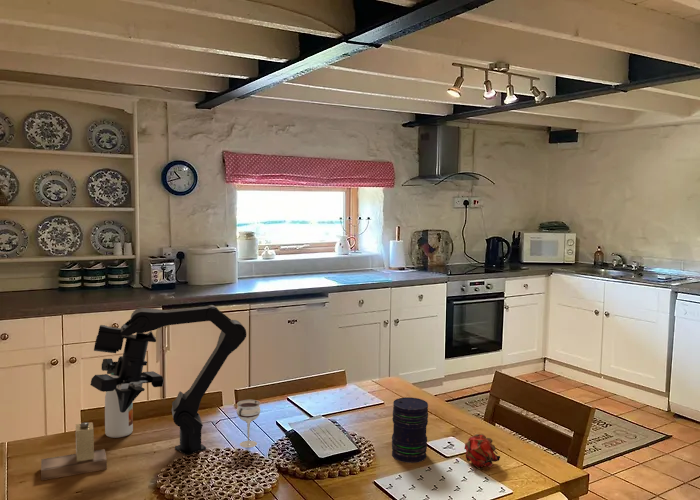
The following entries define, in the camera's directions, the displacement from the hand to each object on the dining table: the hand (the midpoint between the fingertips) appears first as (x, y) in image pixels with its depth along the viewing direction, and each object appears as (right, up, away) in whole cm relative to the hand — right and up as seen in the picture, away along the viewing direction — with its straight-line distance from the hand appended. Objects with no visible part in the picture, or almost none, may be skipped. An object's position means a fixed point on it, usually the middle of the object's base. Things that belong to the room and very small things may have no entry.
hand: (122, 412), depth 155 cm
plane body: (-10, -13, -6) cm, 17 cm away
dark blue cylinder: (+78, -14, +7) cm, 79 cm away
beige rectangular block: (-8, -10, -5) cm, 14 cm away
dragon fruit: (+97, -15, +2) cm, 98 cm away
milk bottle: (-8, -11, +17) cm, 22 cm away
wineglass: (+32, -13, +12) cm, 36 cm away
